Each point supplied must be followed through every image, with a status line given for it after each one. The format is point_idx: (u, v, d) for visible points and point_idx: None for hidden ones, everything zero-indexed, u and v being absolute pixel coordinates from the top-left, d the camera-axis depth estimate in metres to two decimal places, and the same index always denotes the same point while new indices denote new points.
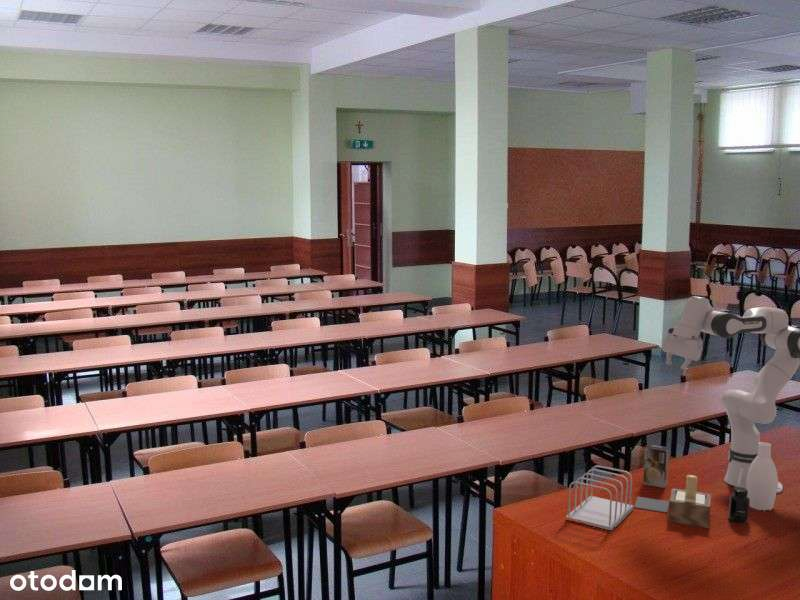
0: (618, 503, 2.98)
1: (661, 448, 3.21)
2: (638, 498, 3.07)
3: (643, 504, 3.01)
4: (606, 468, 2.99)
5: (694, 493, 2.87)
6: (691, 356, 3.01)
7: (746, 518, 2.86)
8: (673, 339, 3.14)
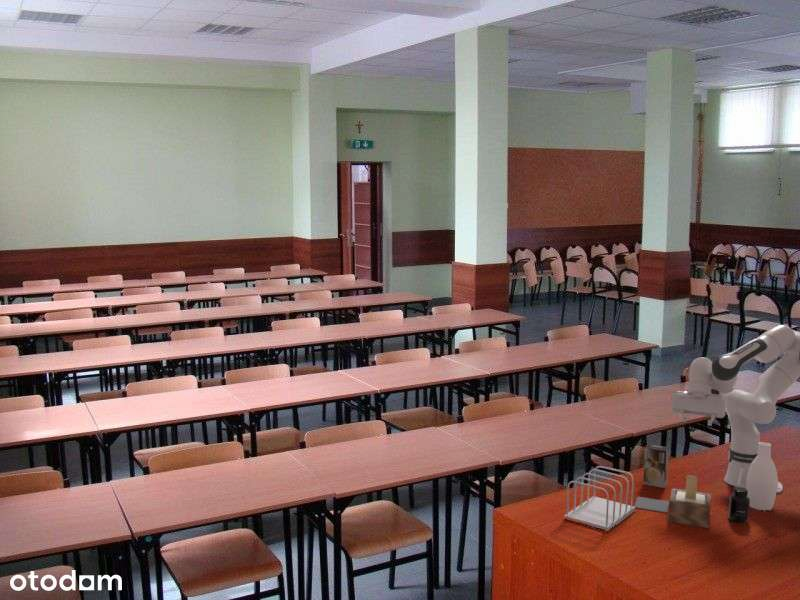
0: (620, 504, 2.97)
1: (661, 448, 3.21)
2: (638, 498, 3.07)
3: (643, 504, 3.01)
4: None
5: (694, 493, 2.87)
6: None
7: (746, 518, 2.86)
8: None
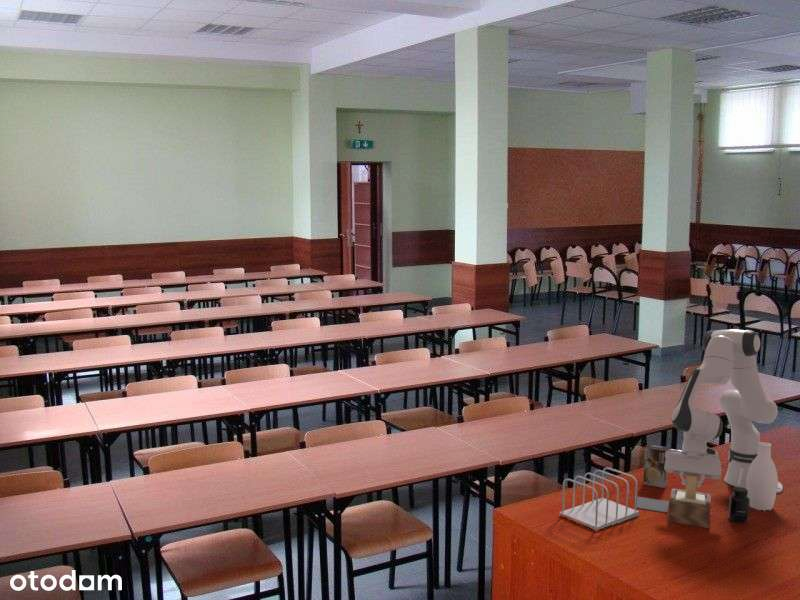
0: (624, 507, 2.94)
1: (661, 448, 3.21)
2: (638, 498, 3.07)
3: (643, 504, 3.01)
4: None
5: (694, 493, 2.87)
6: None
7: (746, 518, 2.86)
8: None
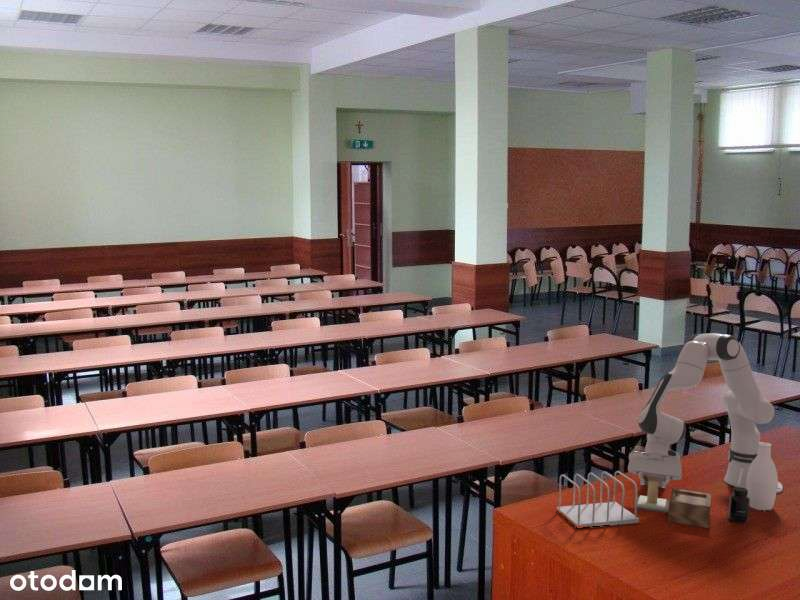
0: (628, 513, 2.88)
1: None
2: (638, 498, 3.07)
3: None
4: (622, 475, 2.92)
5: (655, 498, 2.99)
6: None
7: (746, 518, 2.86)
8: None
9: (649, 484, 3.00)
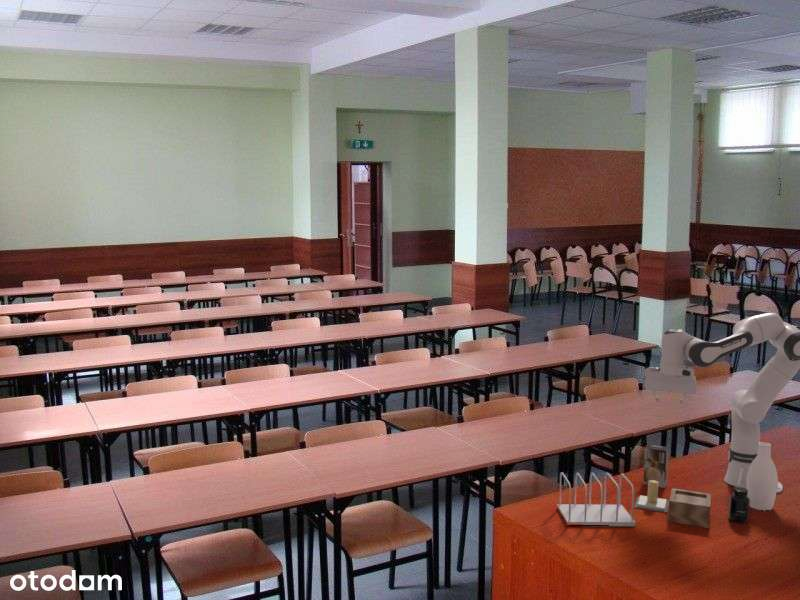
0: (627, 516, 2.85)
1: (661, 448, 3.21)
2: (638, 498, 3.07)
3: None
4: (624, 477, 2.89)
5: (655, 498, 2.99)
6: None
7: (746, 518, 2.86)
8: None
9: (649, 484, 3.00)
